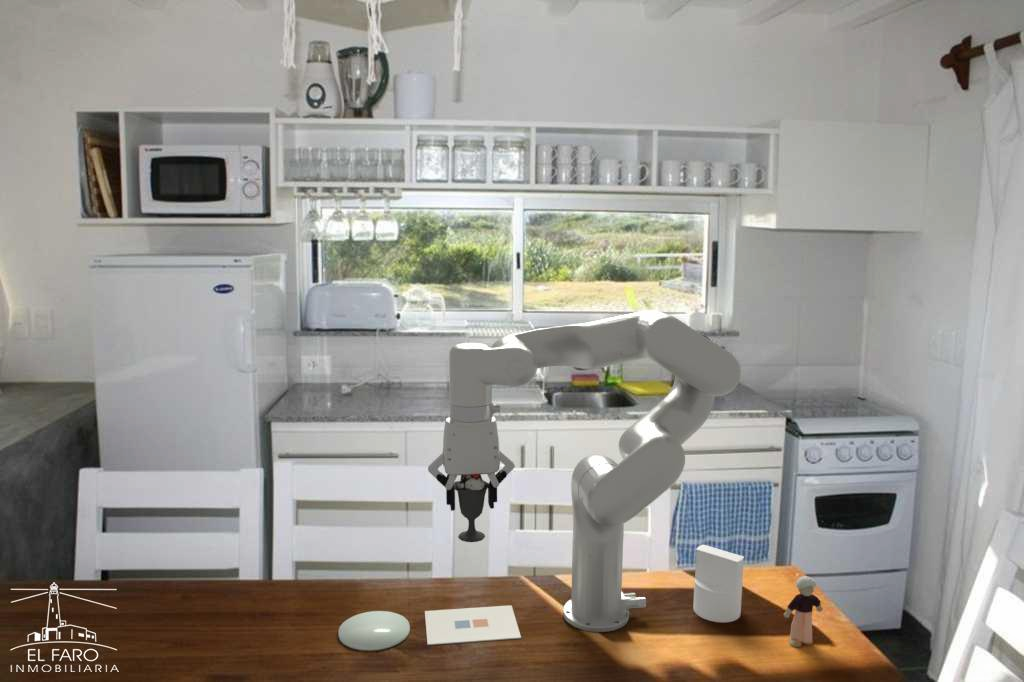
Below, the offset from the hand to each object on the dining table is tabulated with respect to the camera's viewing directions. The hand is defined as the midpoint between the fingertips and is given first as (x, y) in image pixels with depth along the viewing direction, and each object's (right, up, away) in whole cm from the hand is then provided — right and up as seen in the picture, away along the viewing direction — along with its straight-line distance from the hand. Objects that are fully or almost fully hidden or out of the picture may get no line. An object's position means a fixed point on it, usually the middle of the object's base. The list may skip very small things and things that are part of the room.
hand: (471, 506), depth 149 cm
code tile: (0, -23, +4) cm, 23 cm away
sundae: (0, -6, +1) cm, 6 cm away
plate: (-18, -23, +1) cm, 30 cm away
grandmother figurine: (+60, -25, -1) cm, 65 cm away
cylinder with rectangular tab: (+47, -23, +10) cm, 53 cm away
